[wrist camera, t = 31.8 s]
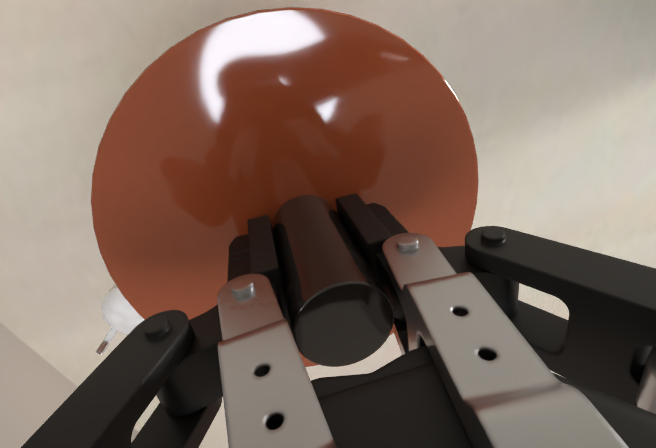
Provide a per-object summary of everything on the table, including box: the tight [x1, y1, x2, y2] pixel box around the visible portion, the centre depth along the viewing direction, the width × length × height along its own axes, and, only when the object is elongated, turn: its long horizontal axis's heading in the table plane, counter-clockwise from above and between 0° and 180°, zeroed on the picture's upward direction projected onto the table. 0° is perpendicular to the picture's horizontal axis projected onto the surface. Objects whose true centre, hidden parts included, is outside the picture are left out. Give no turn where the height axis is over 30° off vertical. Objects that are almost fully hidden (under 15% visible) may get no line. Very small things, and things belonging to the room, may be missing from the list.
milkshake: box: [96, 284, 145, 355], centre depth 30 cm, size 4×5×10 cm
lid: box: [91, 7, 478, 367], centre depth 11 cm, size 14×14×7 cm
